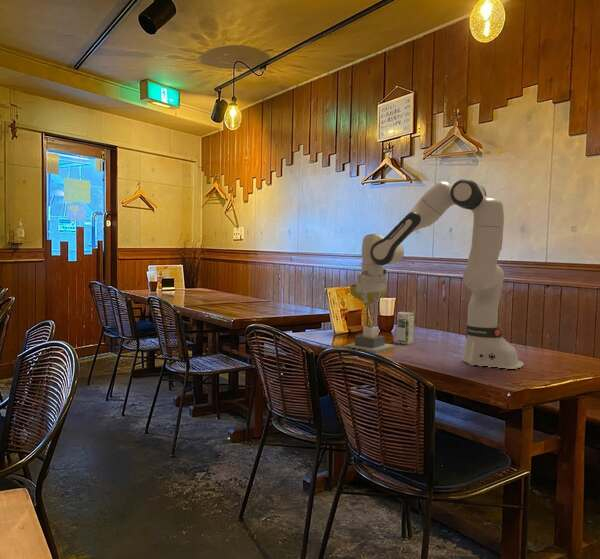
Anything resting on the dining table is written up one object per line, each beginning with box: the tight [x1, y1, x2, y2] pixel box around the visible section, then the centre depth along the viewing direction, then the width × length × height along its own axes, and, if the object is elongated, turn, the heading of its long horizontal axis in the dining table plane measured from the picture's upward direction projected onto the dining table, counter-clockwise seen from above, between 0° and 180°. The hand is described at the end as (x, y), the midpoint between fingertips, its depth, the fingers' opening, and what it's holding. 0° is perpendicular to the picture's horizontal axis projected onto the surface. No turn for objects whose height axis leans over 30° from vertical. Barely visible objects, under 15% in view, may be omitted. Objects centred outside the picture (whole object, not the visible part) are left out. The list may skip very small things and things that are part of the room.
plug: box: [362, 324, 378, 338], centre depth 220 cm, size 4×4×9 cm
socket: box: [344, 333, 396, 353], centre depth 220 cm, size 16×16×5 cm
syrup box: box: [396, 311, 415, 346], centre depth 231 cm, size 6×6×14 cm
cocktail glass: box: [349, 284, 387, 336], centre depth 248 cm, size 18×18×25 cm
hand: (371, 302), depth 219 cm, fingers open, 8 cm apart
